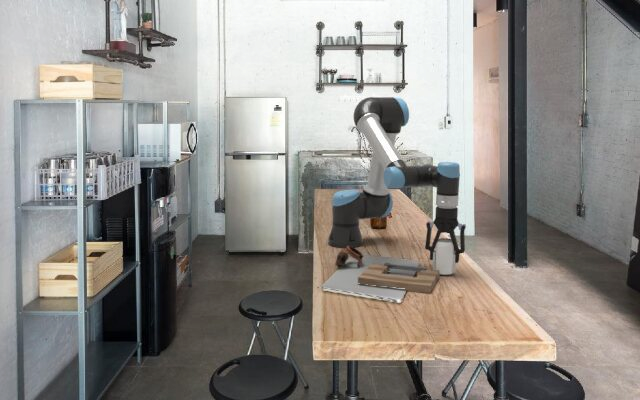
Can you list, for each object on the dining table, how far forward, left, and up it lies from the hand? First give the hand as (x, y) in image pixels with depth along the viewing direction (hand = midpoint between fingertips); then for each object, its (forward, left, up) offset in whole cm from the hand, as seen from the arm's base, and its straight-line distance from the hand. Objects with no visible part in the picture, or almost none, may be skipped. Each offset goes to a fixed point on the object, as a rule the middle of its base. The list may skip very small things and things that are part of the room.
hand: (443, 270), depth 189 cm
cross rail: (+6, -13, -1) cm, 14 cm away
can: (0, 0, -1) cm, 1 cm away
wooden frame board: (+14, -13, -1) cm, 19 cm away
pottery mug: (+3, -35, -2) cm, 36 cm away
